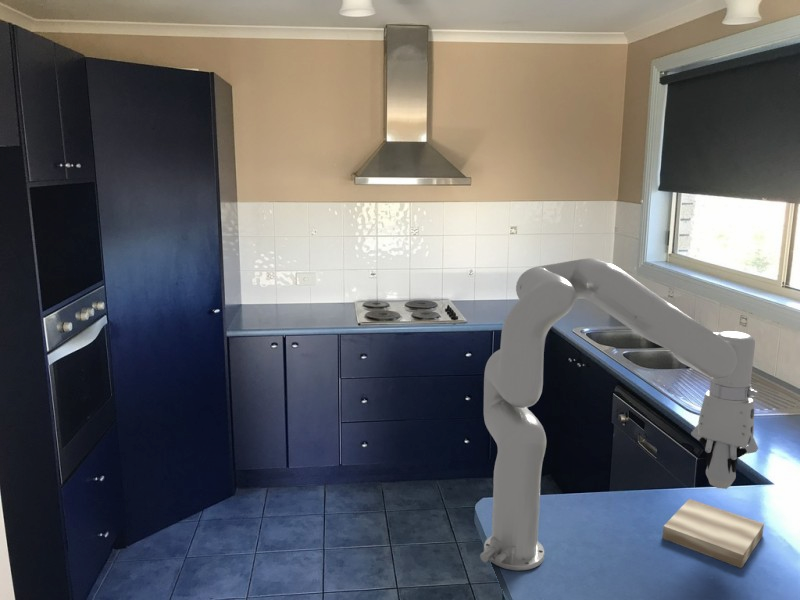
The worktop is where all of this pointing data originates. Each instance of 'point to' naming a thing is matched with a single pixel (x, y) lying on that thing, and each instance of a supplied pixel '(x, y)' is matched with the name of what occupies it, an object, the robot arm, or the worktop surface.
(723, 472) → the salt shaker
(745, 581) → the worktop surface
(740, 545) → the plinth
